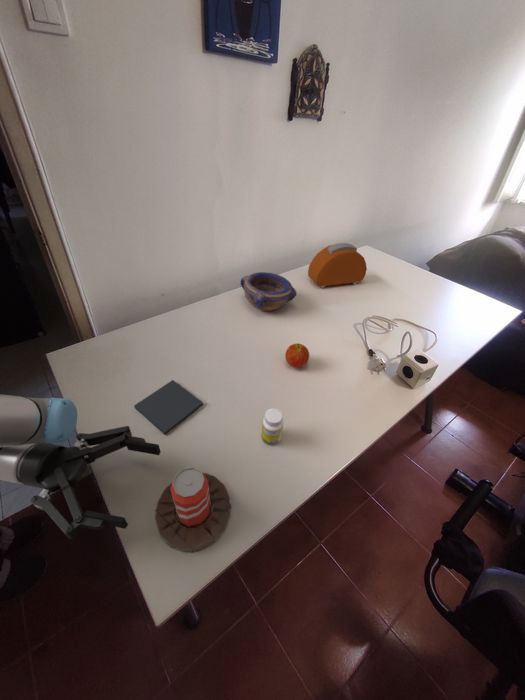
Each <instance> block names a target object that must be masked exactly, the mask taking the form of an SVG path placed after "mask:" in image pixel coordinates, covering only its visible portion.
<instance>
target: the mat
mask: <svg viewBox="0 0 525 700" xmlns="http://www.w3.org/2000/svg"><path fill="white" fill-rule="evenodd" d="M203 406H204V402H203V401H202V400H200V399H199V398H197V396H195V395H194V394H192V393H191V392H190V391H188V390H187V389H185V388H184V387H183V386H181V385H180V384H179V383H178V382H177V381H175V380H173V379H172V380H170V381H169V382H167V383H166V384H164V385H162V386H161V387H160V388H158V389H157V390H155V391H153V392H152V393H151V394H149V395H148V396H146V397H145V398H143V399H142V400H140V401H139V402H137V403H136V404H134V405H133V407H134V410H136V411H138V413H140V414H141V416H143V417H144V418H145V419H146V420H147V421H149V422H150V424H152V425H153V426H154V427H155V428H156V429H157V430H159V431H160V432H161V433H162V434H163V435H165V436H166V435H167V434H169V433H170V432H171V431H173V429H175V428H176V427H177V426H179V425H180V424H181V423H182V422H184V421H185V420H187V419H188V418H189V417H190V416H191V415H193V414H195V413H196V411H198V410H199V409H200V408H202V407H203Z"/></svg>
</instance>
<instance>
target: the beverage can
mask: <svg viewBox="0 0 525 700" xmlns="http://www.w3.org/2000/svg"><path fill="white" fill-rule="evenodd" d="M204 473H205V472H204V471H202V470H200V469H198V468H196V467H194V466H190V467H184V468H182V469H180V470H179V471H178V472H177V473H176V474H175V476H174V477H173V480H172V482H171V483H172V486H171V489H170V490H171V494H172V497H173V501H174V504H175V508H176V514H177V517H178V520H179V524H182V525H183V526H184V527H187V528H193V527H198V526H200V525H202V524H204V523H205V522H206V521H207V519H208V518H209V517H210V514H211V510H212V509H211V508H212V504H211V503H212V502H211V499H210V494H209V485H208V481H207V479H206V477H205V475H204Z"/></svg>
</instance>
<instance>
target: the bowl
mask: <svg viewBox="0 0 525 700" xmlns="http://www.w3.org/2000/svg"><path fill="white" fill-rule="evenodd" d="M240 286H241V288H242V290H243V292H244V297H245V299H246V300H247V302H248V303H249V304H250V305H251V306H253V307H254V308H255V309H257V310H259V311H262V312H271V311H275V310H278V309H280V308H281V307H283V306H284V305H285V304H287V303H289V302H291V301H292V300H293V299H295V298H296V296H297V291H296V289H295V288H294V287H293V285H292V283H291V282H290V281H289V280H288V279H287V278H286V277H284V276H282V275H280V274H277V273H273V272H265V271H263V272H261V271H258V272H253V273H251V274H249V275H244V276H242V278H241V279H240Z"/></svg>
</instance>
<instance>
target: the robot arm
mask: <svg viewBox="0 0 525 700" xmlns="http://www.w3.org/2000/svg"><path fill="white" fill-rule="evenodd" d="M77 422H78V409H77V406H76V404H75V402H73V400H72V399H69V398H64V397H63V398H62V397H61V398H60V397H54V396H53V397H31V396H29V397H28V396H20V395H9V394H0V481H3V482H8V483H12V484H18V485H24V486H27V487H33V488H39V489H42V490H41V492H40V493H39V494H38V495H37V494H35V495H34V496H32V497H31V499H30V503H32V504H33V506H34V507H35V508H36V509H38V510H41V511H43V512H45V513H46V514H47V515H48V516H49V518H51V520H52V521H53V522H54V524H55V525H56V526H57V527H58V528H59V529H60V530H61V531H62V533H63V534H64V535H65V536H66V537H67V538H68V539H69V540H73V539H75V538H76V537H77V535H78V533H79V531H80V530H87V529H89V530H95V531H103V529H104V528H105V526H109V527H115V528H119V529H125V530H126V529H127V528H128V526H129V523H128V521H127V520H126V517H124V516H118V515H113V514H108V513H103V512H97V511H92V510H86V511H85V512H84V511H83V509H82V507H81V504H80V501H79V500H78V498H77V494H76V492H75V489H74V487H73V486H74V485H75V484H76V483H79V482H80V480H81V478H82V475H83V474H84V473H85V472H86V471H87V469H88V467H89V466H88V465H89V464H92V463H94V462H95V461H96V460H98V459H101V458H102V457H105V456H107V455H109V454H112V453H114V452H117V451H119V450H121V449H123V448H127V449H126V450H128V451H132V452H136V453H137V452H138V453H144V454H149V455H154V456H161V455H160V454H161V448H160V445H159V444H158V443H152V442H148V441H147V442H146V439H145V438H144V437H138V436H133V433H132V430H131V428H130V426H128V425H125V426H121V427H115V428H110V429H106V430H101V431H95V432H92V433H84V432H80V433H78V434H76V435H75V438H76V442H75V443H74V445H73V446H69V447H67V446H63V445H59V443H64V442H66V441H68V440H70V438H71V437H72V436H73V434H74V432H75V430H76V427H77V424H78V423H77ZM56 443H58V444H56ZM86 456H87V457H86ZM59 491H62V493H63V496H64V499H65V501H66V503H67V506H68V509H69V512H70V514H71V516H72V519H73V520H72V521H71V522H68V521H67V520H66V518H65V516H63V515H62V514H61V512H60V511H59V510H58V509H57V508H56V507H55V506H54V505H53V503H52V497H51V494H52V493H55V492H59Z"/></svg>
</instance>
